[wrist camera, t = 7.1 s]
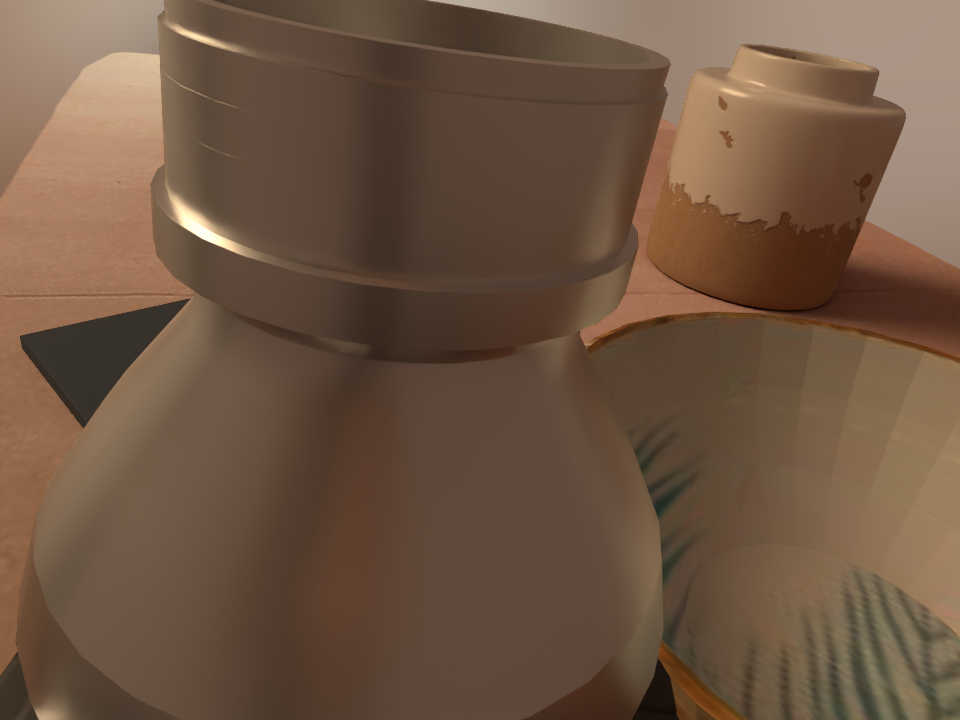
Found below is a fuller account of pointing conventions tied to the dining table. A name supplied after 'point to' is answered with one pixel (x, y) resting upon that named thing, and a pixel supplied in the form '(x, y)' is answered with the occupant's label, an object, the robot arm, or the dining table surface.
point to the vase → (772, 176)
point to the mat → (95, 354)
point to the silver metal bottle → (367, 386)
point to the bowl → (798, 513)
